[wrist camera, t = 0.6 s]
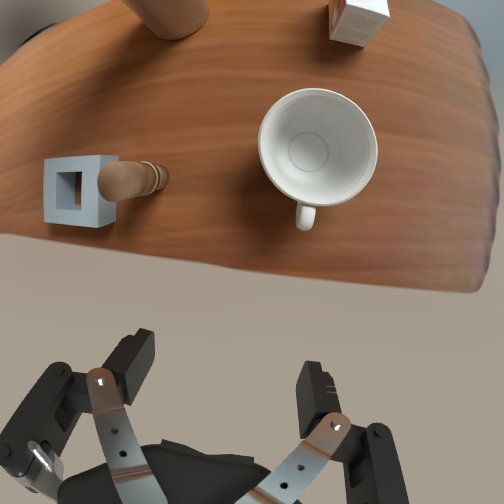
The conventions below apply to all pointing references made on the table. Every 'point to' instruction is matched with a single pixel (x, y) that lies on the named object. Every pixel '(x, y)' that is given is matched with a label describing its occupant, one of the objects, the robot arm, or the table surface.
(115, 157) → the hole block
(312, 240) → the table surface
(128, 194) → the walnut peg
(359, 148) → the teacup
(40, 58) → the table surface
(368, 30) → the small box
